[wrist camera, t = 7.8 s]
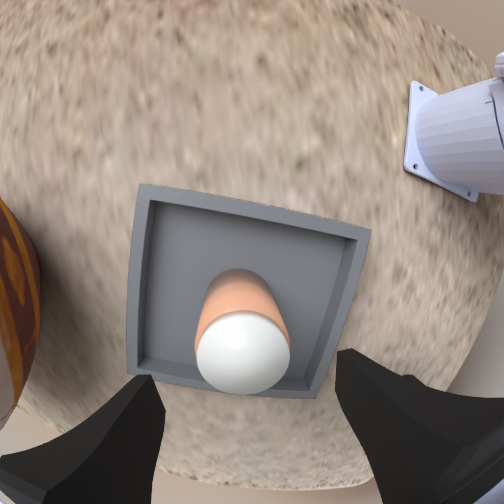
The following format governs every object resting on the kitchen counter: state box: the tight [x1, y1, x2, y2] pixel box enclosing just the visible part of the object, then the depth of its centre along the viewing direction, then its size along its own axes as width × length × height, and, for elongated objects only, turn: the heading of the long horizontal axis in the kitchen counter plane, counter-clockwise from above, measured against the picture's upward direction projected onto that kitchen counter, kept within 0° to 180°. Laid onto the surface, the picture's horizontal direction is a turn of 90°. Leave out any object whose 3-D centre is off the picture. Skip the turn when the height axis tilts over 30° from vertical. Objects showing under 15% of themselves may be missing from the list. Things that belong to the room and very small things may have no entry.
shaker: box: [195, 269, 290, 395], centre depth 15 cm, size 4×4×7 cm
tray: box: [126, 184, 371, 399], centre depth 18 cm, size 14×13×2 cm
